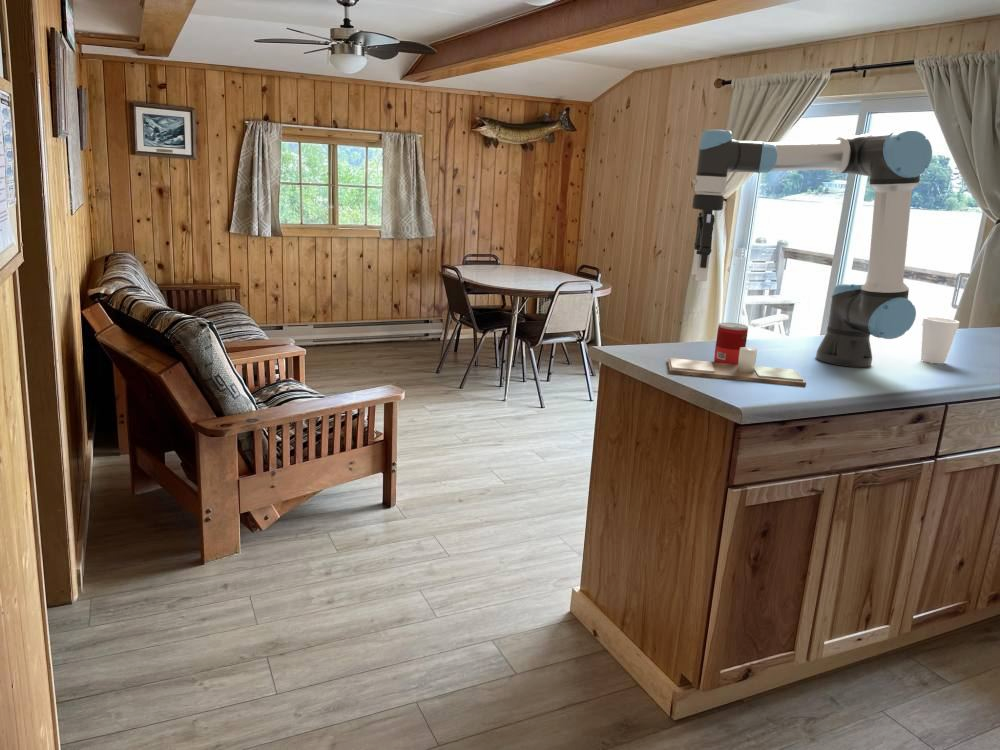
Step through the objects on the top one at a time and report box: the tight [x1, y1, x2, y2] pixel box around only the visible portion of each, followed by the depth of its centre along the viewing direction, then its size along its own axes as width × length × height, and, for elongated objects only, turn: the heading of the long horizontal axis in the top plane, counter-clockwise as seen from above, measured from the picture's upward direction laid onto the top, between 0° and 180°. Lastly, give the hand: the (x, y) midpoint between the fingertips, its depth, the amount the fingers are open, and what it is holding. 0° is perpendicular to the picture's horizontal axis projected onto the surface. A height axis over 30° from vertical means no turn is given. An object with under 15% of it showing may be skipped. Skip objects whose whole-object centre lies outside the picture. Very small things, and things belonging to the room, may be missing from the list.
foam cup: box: [920, 316, 960, 364], centre depth 226 cm, size 10×9×13 cm
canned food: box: [713, 322, 749, 364], centre depth 209 cm, size 8×8×11 cm
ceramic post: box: [737, 346, 758, 373], centre depth 197 cm, size 4×4×6 cm
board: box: [667, 357, 807, 387], centre depth 199 cm, size 34×14×1 cm, turn 80°
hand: (698, 277), depth 194 cm, fingers open, 13 cm apart
